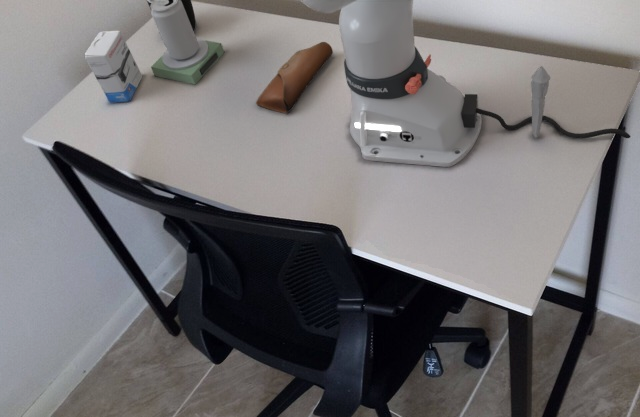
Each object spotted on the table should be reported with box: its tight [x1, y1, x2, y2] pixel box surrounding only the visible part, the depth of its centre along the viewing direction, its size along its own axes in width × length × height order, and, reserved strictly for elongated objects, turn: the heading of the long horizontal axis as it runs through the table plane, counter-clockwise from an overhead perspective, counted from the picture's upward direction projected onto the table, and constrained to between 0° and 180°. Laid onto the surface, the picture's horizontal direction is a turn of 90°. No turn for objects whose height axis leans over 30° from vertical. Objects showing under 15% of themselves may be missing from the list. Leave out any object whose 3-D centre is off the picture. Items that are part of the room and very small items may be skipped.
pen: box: [530, 65, 551, 139], centre depth 99 cm, size 2×3×14 cm
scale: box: [150, 37, 225, 85], centre depth 136 cm, size 11×11×3 cm
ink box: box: [84, 30, 143, 104], centre depth 131 cm, size 8×5×12 cm, turn 171°
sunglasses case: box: [255, 41, 334, 115], centre depth 125 cm, size 18×7×7 cm, turn 152°
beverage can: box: [149, 0, 199, 60], centre depth 130 cm, size 6×6×12 cm
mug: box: [146, 0, 197, 32], centre depth 143 cm, size 12×9×10 cm
